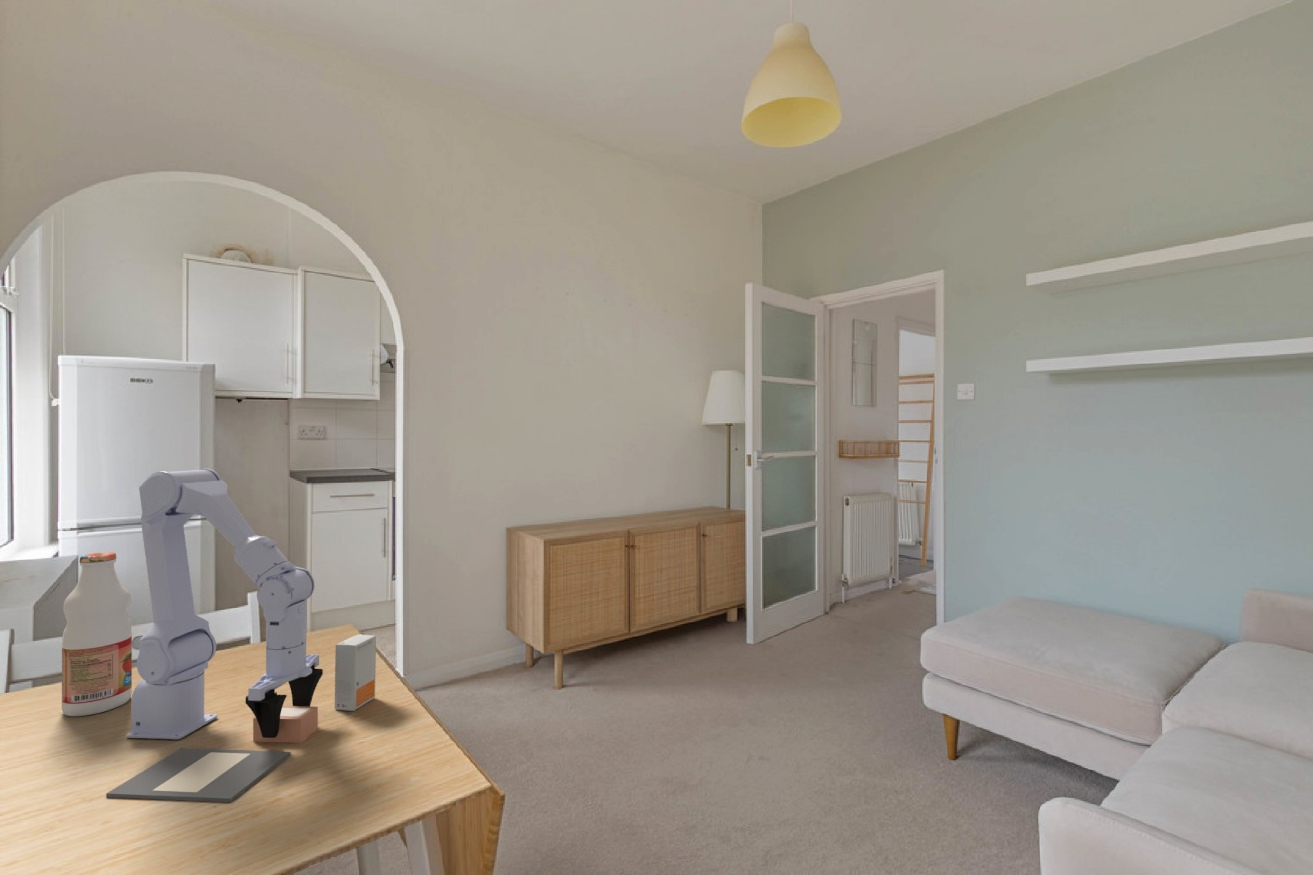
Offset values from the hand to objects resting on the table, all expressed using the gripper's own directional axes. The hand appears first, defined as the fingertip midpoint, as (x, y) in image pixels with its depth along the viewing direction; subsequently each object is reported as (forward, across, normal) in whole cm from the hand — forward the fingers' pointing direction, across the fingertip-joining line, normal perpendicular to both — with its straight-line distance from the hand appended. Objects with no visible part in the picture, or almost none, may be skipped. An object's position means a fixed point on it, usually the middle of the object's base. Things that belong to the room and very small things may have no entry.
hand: (286, 725), depth 99 cm
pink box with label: (+2, 0, 0) cm, 2 cm away
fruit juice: (+2, +8, +42) cm, 43 cm away
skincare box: (+2, +12, -5) cm, 13 cm away
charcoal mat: (+2, -12, +4) cm, 13 cm away
